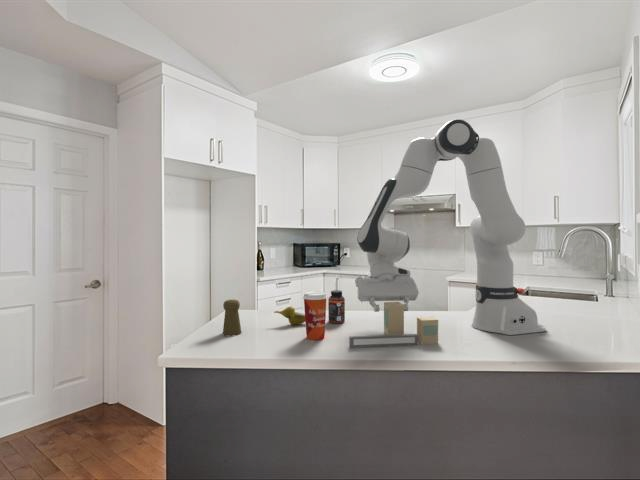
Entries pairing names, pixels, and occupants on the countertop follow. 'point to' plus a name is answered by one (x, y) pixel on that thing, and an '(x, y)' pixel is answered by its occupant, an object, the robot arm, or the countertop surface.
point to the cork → (231, 318)
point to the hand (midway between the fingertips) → (391, 310)
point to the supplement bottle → (336, 307)
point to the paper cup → (315, 314)
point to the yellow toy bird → (292, 316)
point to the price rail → (383, 340)
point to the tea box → (427, 330)
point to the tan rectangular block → (393, 318)
